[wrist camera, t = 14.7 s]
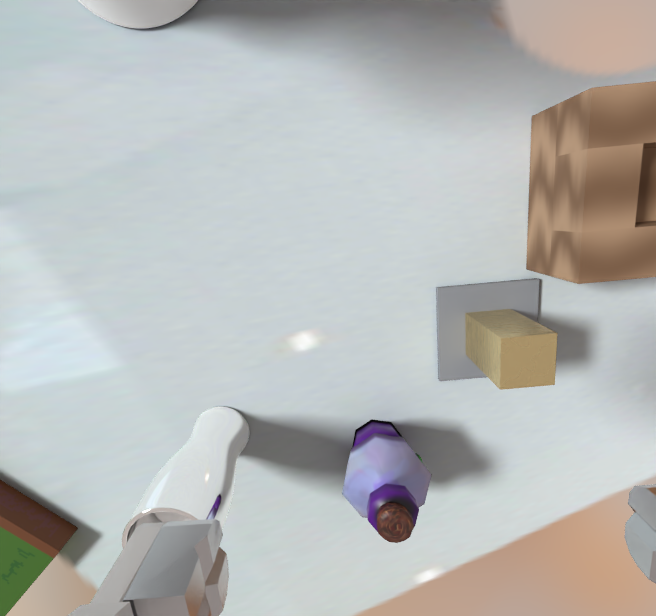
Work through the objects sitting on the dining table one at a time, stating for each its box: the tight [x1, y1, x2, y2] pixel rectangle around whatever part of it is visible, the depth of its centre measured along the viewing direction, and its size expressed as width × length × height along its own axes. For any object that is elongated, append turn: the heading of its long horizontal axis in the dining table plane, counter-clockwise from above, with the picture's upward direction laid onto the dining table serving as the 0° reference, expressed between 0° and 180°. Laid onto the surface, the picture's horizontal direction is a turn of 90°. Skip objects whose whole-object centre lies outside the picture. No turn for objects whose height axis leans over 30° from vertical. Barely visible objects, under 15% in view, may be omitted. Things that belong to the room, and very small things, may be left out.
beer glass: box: [122, 406, 249, 549], centre depth 35 cm, size 7×7×15 cm
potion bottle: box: [342, 420, 431, 543], centre depth 36 cm, size 9×9×12 cm
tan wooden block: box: [465, 309, 557, 389], centre depth 35 cm, size 4×4×8 cm
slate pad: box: [436, 278, 539, 381], centre depth 39 cm, size 10×10×1 cm
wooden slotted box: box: [526, 81, 656, 284], centre depth 32 cm, size 14×14×8 cm
